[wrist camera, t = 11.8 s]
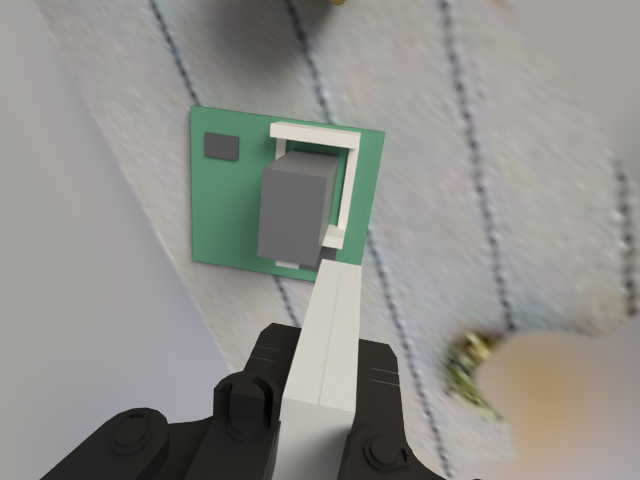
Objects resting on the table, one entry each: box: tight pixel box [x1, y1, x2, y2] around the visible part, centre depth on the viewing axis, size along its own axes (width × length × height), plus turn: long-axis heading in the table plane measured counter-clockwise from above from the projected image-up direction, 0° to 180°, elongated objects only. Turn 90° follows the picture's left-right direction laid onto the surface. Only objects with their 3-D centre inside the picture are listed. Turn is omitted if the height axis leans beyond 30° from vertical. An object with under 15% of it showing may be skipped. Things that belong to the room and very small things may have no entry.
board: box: [190, 106, 385, 282], centre depth 32 cm, size 15×17×4 cm
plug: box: [257, 148, 340, 269], centre depth 27 cm, size 7×4×10 cm, turn 173°
